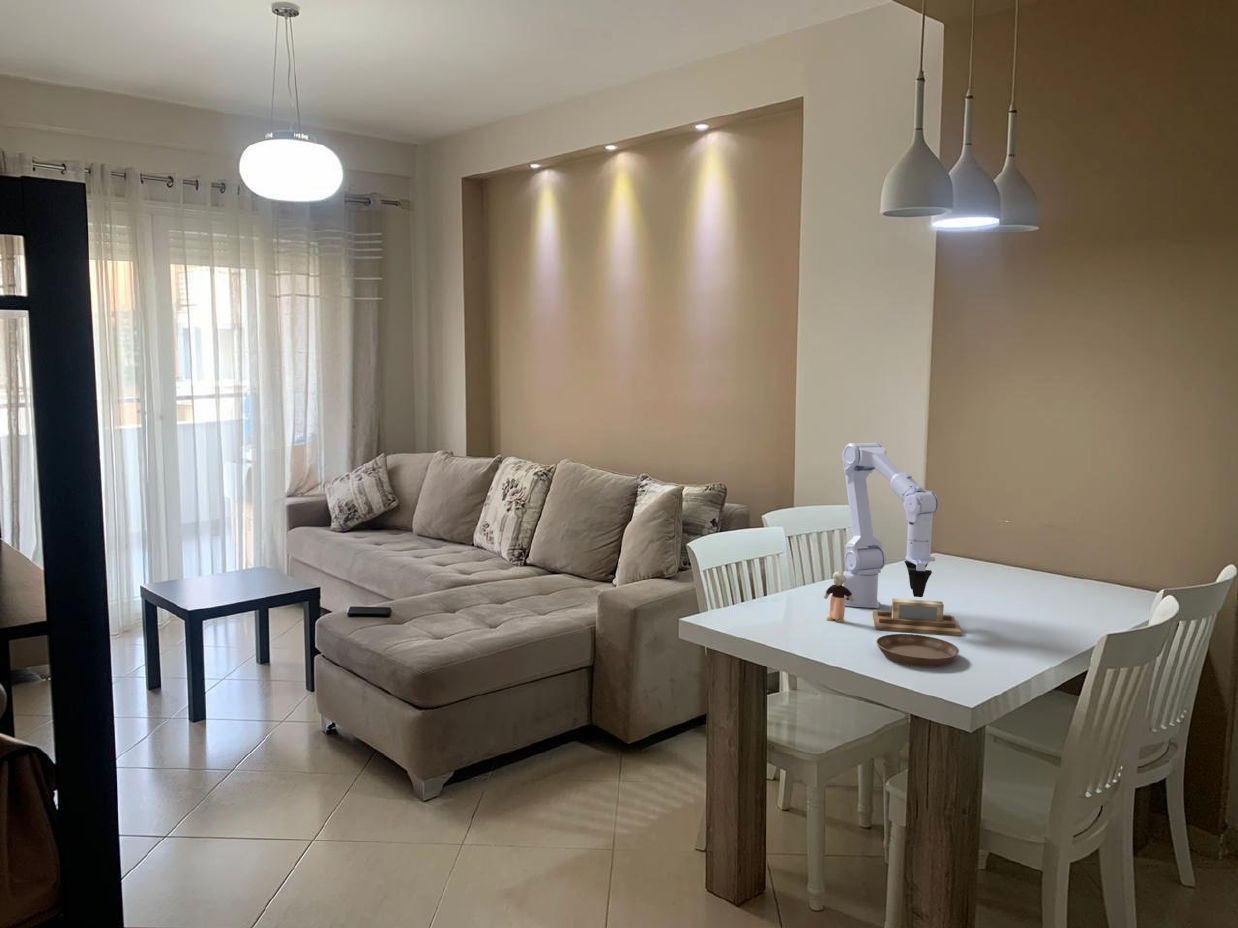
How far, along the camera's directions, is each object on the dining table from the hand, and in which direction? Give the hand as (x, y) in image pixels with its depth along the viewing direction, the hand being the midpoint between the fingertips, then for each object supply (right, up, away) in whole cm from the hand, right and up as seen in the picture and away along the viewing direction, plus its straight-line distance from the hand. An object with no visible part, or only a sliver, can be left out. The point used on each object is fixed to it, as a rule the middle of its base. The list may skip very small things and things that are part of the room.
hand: (916, 592), depth 228 cm
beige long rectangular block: (0, -7, +1) cm, 7 cm away
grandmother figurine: (-19, -8, +4) cm, 21 cm away
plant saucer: (-8, -11, -24) cm, 28 cm away
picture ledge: (0, -8, +1) cm, 8 cm away
